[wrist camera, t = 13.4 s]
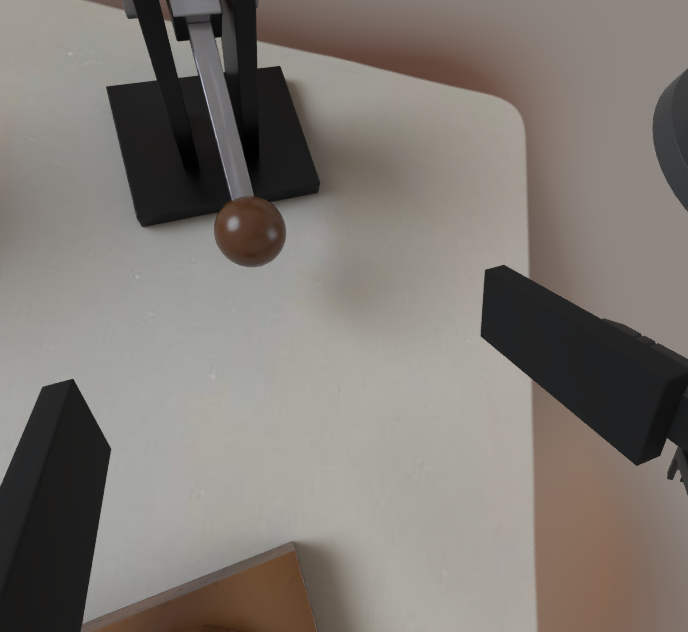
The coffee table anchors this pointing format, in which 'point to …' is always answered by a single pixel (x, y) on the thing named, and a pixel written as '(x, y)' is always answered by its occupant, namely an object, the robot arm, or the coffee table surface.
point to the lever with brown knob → (228, 143)
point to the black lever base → (206, 125)
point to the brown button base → (225, 601)
